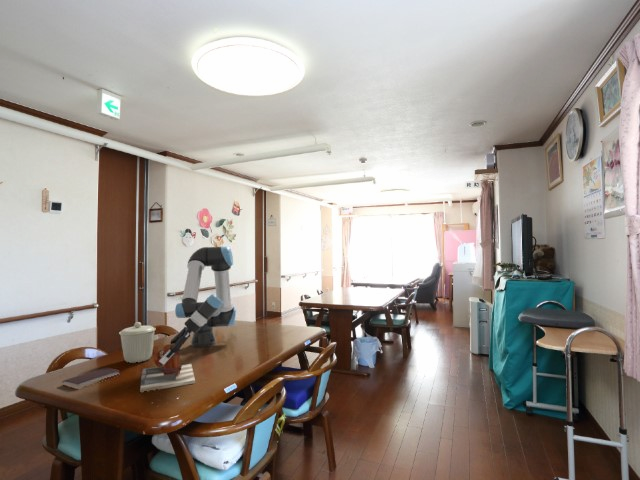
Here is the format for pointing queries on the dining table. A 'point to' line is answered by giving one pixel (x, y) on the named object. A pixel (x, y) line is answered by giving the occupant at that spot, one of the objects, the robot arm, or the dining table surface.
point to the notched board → (165, 378)
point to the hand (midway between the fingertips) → (161, 359)
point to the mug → (172, 363)
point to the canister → (137, 342)
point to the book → (91, 376)
